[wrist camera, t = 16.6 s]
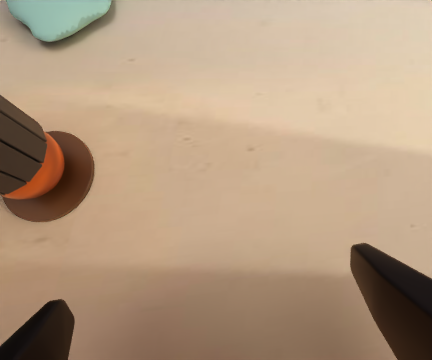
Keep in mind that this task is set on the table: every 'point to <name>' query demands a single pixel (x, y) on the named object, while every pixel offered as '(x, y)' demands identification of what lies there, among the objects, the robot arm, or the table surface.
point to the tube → (19, 147)
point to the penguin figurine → (57, 16)
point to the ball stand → (55, 181)
